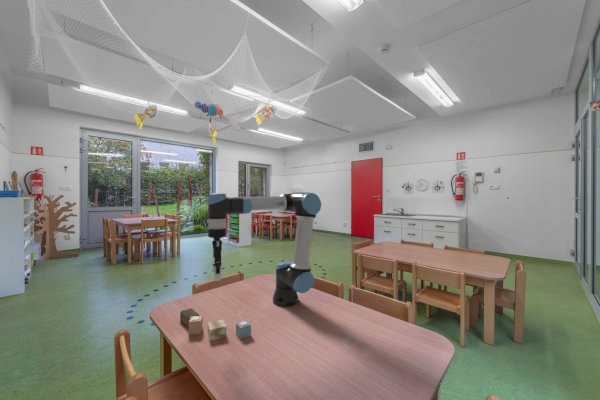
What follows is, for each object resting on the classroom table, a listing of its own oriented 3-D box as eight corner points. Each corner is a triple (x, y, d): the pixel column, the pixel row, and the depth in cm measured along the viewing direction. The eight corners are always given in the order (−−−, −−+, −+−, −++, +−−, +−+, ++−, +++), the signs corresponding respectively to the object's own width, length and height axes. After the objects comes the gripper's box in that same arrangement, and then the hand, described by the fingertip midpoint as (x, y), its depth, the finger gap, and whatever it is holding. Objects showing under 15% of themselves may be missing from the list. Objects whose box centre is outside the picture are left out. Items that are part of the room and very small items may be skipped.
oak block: (223, 329, 118) (223, 319, 118) (226, 337, 112) (226, 326, 111) (207, 333, 115) (207, 322, 115) (209, 341, 108) (209, 329, 108)
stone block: (188, 329, 118) (188, 318, 118) (179, 320, 126) (179, 310, 126) (200, 324, 122) (201, 314, 122) (191, 316, 130) (191, 306, 130)
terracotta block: (202, 328, 119) (202, 315, 119) (200, 334, 114) (200, 320, 114) (191, 329, 118) (191, 315, 118) (188, 335, 113) (188, 321, 113)
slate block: (246, 330, 117) (246, 319, 117) (250, 335, 113) (251, 323, 113) (235, 334, 114) (236, 322, 114) (240, 339, 110) (240, 327, 110)
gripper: (207, 225, 123) (207, 269, 123) (208, 232, 100) (208, 286, 100) (223, 224, 125) (223, 267, 126) (228, 231, 103) (228, 284, 103)
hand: (216, 276), depth 113 cm, fingers open, 12 cm apart
